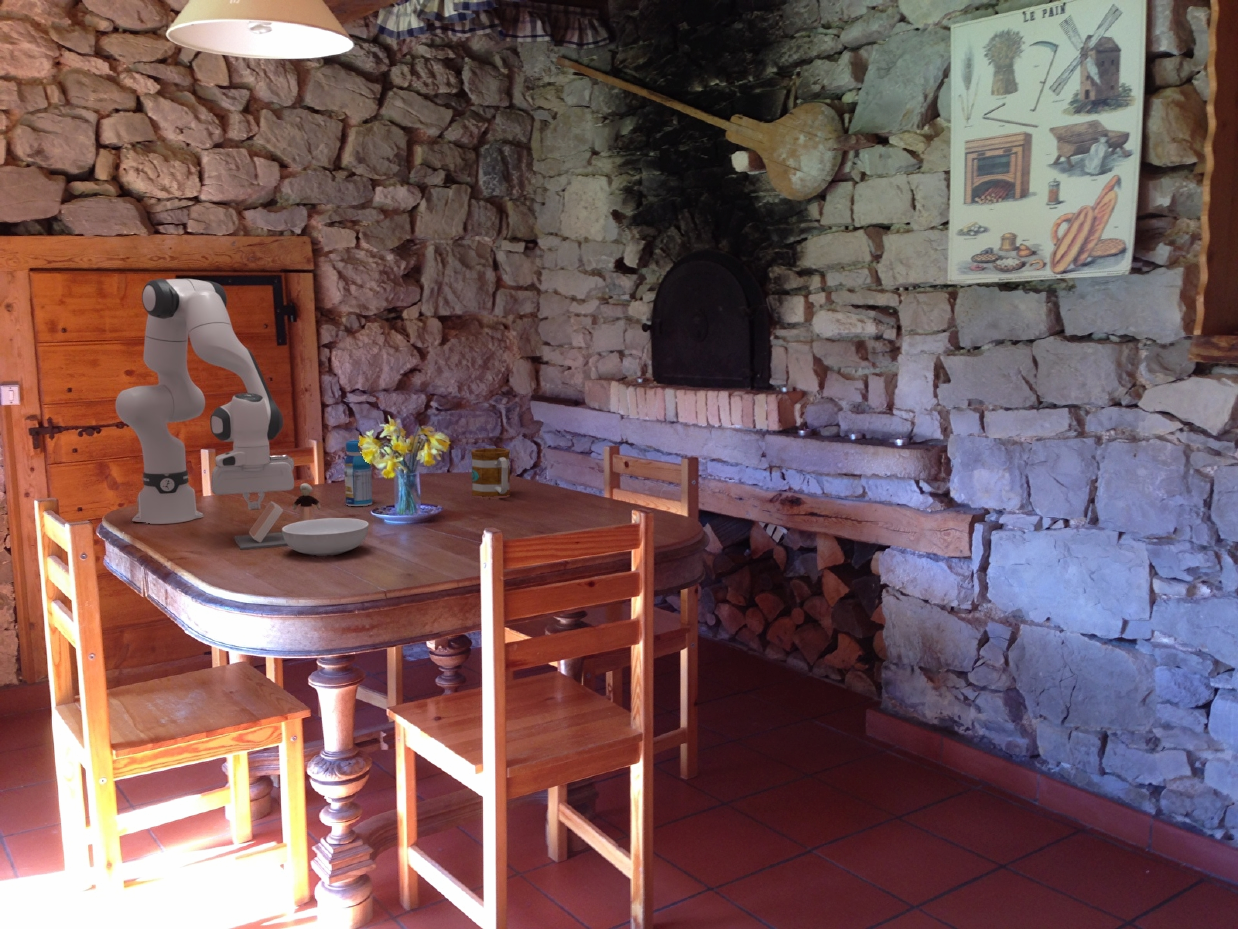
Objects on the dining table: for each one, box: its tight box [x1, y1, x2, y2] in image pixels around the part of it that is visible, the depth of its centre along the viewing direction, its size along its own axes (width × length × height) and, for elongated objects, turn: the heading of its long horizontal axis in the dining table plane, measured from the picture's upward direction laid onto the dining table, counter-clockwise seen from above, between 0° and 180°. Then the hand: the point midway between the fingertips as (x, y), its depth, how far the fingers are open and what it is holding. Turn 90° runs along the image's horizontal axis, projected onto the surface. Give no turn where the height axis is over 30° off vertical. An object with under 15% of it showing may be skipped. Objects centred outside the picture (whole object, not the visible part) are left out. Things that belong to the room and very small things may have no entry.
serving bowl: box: [281, 517, 370, 557], centre depth 260 cm, size 21×21×7 cm
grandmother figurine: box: [292, 482, 322, 522], centre depth 288 cm, size 8×4×13 cm, turn 105°
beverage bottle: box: [343, 439, 373, 507], centre depth 323 cm, size 8×8×20 cm
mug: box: [470, 447, 511, 497], centre depth 338 cm, size 20×14×15 cm
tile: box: [248, 500, 284, 543], centre depth 271 cm, size 8×2×10 cm
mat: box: [233, 531, 290, 551], centre depth 272 cm, size 15×16×1 cm
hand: (254, 509), depth 269 cm, fingers closed
